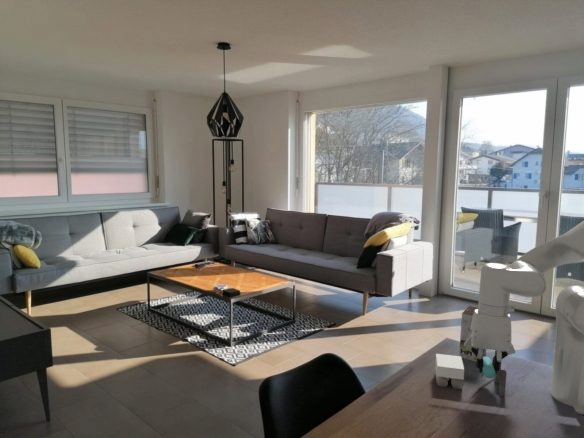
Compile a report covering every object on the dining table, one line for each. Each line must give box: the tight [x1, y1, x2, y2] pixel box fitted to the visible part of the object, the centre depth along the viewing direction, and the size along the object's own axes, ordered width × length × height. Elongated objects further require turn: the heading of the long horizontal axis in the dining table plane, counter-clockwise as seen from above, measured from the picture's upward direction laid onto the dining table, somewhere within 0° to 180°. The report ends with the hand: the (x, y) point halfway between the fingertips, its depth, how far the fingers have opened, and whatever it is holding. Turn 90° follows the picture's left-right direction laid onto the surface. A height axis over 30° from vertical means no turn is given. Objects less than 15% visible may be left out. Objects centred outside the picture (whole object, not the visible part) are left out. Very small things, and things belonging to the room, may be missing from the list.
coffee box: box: [458, 305, 487, 362], centre depth 139 cm, size 9×6×16 cm
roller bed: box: [434, 361, 507, 397], centre depth 122 cm, size 18×9×8 cm, turn 74°
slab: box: [434, 353, 465, 381], centre depth 123 cm, size 7×8×3 cm
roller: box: [482, 355, 496, 379], centre depth 120 cm, size 7×3×3 cm, turn 165°
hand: (487, 370), depth 120 cm, fingers closed on roller, 3 cm apart
